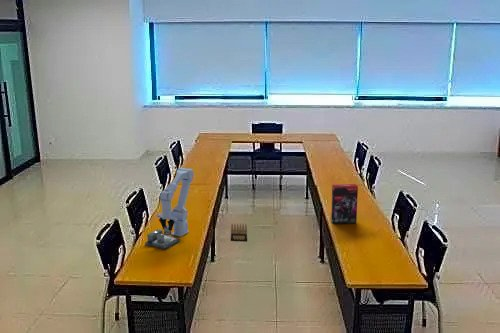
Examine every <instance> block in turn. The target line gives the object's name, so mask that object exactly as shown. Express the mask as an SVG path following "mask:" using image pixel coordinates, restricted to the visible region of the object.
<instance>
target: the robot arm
mask: <svg viewBox="0 0 500 333" xmlns="http://www.w3.org/2000/svg"><path fill="white" fill-rule="evenodd" d="M194 176H195V173H194V170H193V168H183V167H178V168H177V170H176V175H175V177H174V179H173V181H171V182H170V183H168V185H167V187H166V188H165V189H164V190H162V191H160V194H159V199H160V203H161V213H157V215H156V217H157V218H159V219H158V221H159V222H160V224H161V227H162V230H164V226H167V225H169V231H171V235H172V236H176V237H183V236H184V235H186V234H188V233H189V232H190V231H189V229H188V228H189V225H188V224H189V223H188V220H187V218H188V210H187V209H186V203H187V199H188V196H189V191H190V187H191V183H192V182H193V178H194ZM180 182H182V183H181V188H180V191H179V196H178V200H177V205H176V206H174V207H173V208H172V200H173V198H174V193H175V192H176V191H177V189H178V185H179V184H180ZM172 230H173V232H172Z"/></svg>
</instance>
